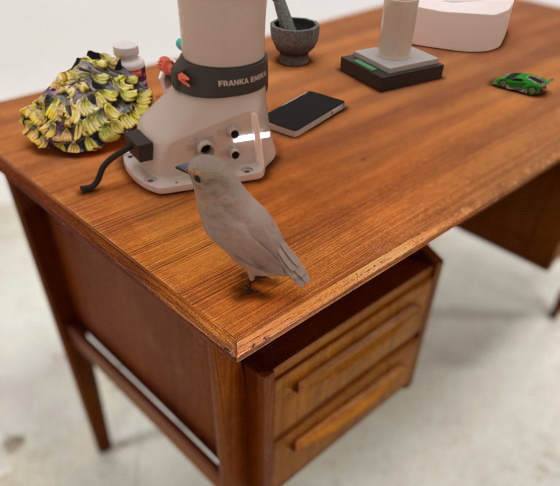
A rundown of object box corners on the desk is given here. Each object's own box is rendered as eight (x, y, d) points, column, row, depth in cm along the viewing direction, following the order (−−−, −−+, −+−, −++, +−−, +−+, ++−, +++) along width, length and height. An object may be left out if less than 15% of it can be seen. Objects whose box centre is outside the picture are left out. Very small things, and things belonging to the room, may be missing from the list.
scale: (380, 91, 105) (383, 72, 103) (339, 69, 113) (341, 51, 111) (441, 77, 111) (445, 59, 108) (398, 57, 119) (401, 40, 117)
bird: (203, 260, 66) (182, 139, 56) (315, 280, 63) (316, 156, 52) (185, 287, 63) (160, 164, 52) (303, 310, 59) (301, 183, 49)
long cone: (199, 64, 116) (202, 92, 100) (169, 74, 116) (168, 104, 101) (188, 35, 112) (189, 59, 97) (158, 45, 113) (154, 71, 97)
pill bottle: (137, 113, 96) (128, 52, 89) (111, 107, 97) (100, 46, 91) (156, 101, 99) (148, 42, 93) (131, 96, 101) (121, 37, 94)
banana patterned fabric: (59, 183, 84) (36, 153, 78) (15, 124, 91) (-9, 92, 85) (170, 112, 87) (156, 78, 82) (120, 60, 94) (104, 25, 89)
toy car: (489, 85, 108) (492, 72, 107) (499, 78, 111) (502, 66, 109) (542, 97, 104) (546, 84, 102) (550, 90, 106) (554, 77, 105)
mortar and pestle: (327, 61, 116) (331, -5, 108) (294, 72, 112) (297, 4, 103) (288, 48, 122) (289, -16, 114) (256, 57, 117) (255, -8, 109)
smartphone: (256, 118, 93) (308, 90, 102) (256, 125, 94) (308, 96, 102) (296, 131, 89) (347, 101, 98) (296, 139, 90) (346, 108, 99)
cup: (391, 62, 106) (399, 3, 100) (371, 52, 110) (377, -5, 104) (416, 57, 109) (426, -1, 102) (396, 48, 113) (404, -9, 106)
